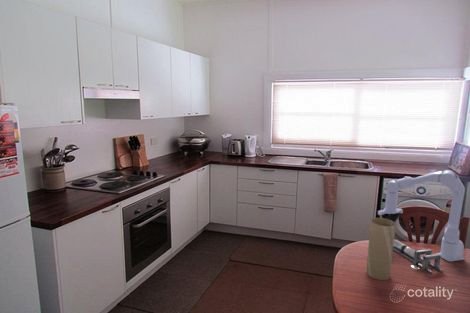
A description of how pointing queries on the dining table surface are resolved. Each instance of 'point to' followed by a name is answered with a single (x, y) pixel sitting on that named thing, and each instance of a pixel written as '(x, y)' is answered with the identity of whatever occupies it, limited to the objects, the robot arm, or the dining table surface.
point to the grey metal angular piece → (423, 259)
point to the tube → (380, 248)
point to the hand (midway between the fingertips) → (388, 226)
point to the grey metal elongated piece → (404, 249)
